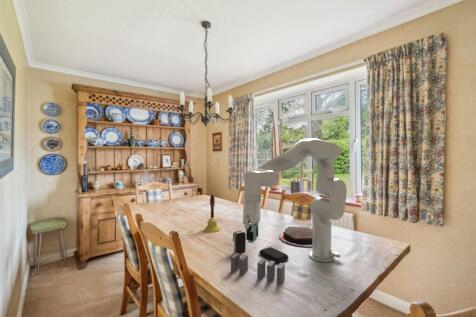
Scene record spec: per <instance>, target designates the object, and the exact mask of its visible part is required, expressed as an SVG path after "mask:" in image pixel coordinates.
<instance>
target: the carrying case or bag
mask: <svg viewBox="0 0 476 317" xmlns="http://www.w3.org/2000/svg"><path fill="white" fill-rule="evenodd" d="M259 255H260V256H262V257H263V258H264V259H267V260H268V261H275V264H280V263H284V262H285V261H287V260H288V259H289V256H288V254H287V253H284V252H283V251H281V250H278V248H277V249H276V248H275V247H272V246H270V247H269V246H268V247H265V248H262V249H260V250H259Z"/></svg>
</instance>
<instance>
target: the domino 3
mask: <svg viewBox="0 0 476 317" xmlns="http://www.w3.org/2000/svg"><path fill="white" fill-rule="evenodd" d="M249 227H250V228H251V226H249ZM256 229H257V224H254V225H253V231H252V232H253V241H250V240H247V243H249V244H253V243H255V242H256V241H257V238H258V237H256Z"/></svg>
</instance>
